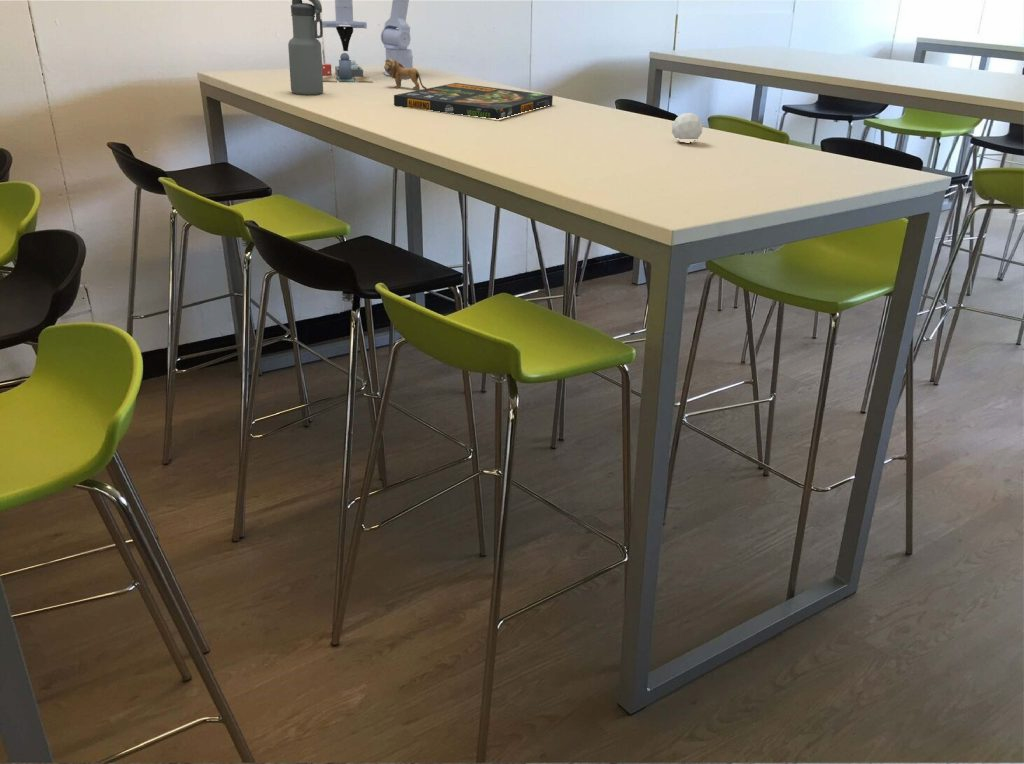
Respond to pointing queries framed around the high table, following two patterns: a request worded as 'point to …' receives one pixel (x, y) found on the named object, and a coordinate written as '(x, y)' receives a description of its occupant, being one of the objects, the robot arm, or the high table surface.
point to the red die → (326, 69)
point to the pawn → (345, 67)
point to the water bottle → (306, 49)
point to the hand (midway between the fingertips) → (345, 50)
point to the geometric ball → (687, 126)
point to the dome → (354, 65)
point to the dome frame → (353, 72)
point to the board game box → (473, 100)
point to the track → (358, 79)
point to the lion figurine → (402, 73)
